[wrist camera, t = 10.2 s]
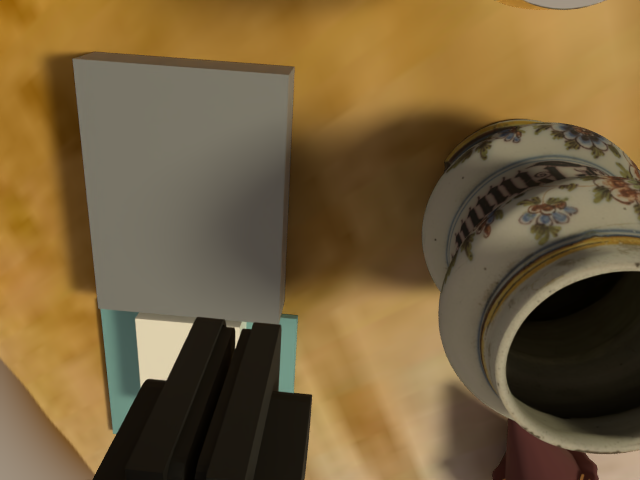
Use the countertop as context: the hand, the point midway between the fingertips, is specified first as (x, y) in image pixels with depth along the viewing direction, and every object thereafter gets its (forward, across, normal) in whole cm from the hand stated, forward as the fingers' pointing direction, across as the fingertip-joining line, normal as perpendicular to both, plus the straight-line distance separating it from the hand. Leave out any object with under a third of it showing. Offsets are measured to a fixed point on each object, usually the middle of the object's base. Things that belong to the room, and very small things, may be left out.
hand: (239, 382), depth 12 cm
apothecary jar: (+27, -12, +5) cm, 30 cm away
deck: (+27, +8, +6) cm, 29 cm away
